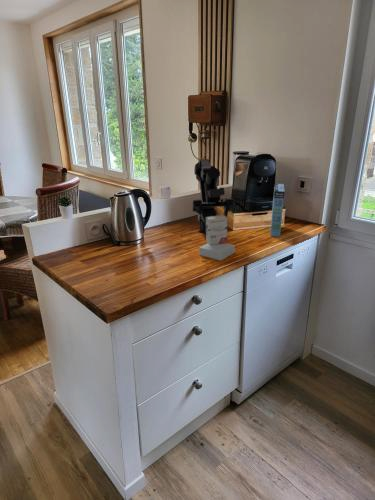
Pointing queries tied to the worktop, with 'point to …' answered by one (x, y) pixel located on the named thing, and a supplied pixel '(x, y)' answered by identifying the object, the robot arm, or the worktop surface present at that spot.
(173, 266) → the worktop surface
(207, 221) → the ink box
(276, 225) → the gum box
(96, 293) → the worktop surface
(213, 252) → the base block
